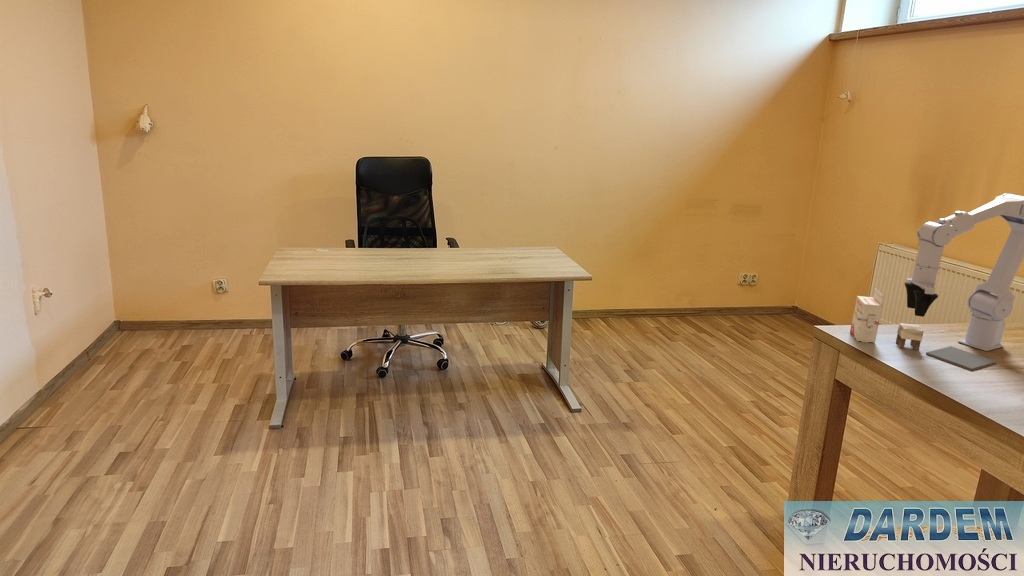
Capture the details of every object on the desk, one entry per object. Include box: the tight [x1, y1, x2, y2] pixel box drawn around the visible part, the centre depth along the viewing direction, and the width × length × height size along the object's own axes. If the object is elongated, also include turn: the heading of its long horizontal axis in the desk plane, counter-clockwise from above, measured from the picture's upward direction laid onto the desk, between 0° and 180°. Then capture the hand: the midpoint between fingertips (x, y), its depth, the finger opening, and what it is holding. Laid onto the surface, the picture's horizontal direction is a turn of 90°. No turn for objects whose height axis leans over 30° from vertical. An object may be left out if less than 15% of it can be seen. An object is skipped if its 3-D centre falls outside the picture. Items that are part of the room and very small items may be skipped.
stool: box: [895, 322, 925, 351], centre depth 185 cm, size 5×5×6 cm
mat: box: [925, 345, 997, 371], centre depth 178 cm, size 12×12×1 cm
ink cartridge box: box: [849, 287, 884, 344], centre depth 190 cm, size 9×5×15 cm, turn 168°
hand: (915, 311), depth 183 cm, fingers open, 7 cm apart
